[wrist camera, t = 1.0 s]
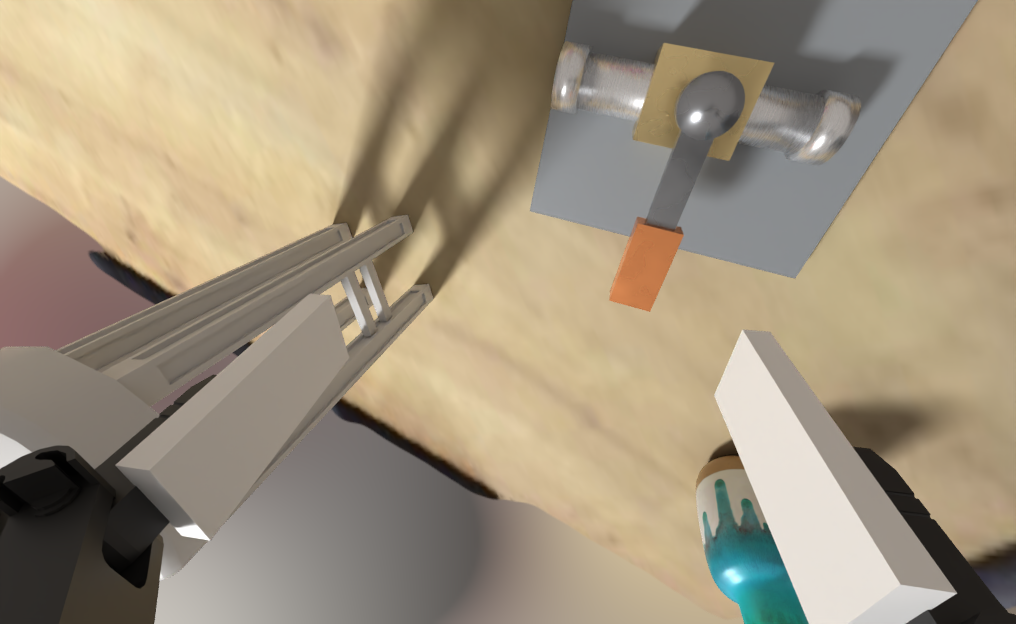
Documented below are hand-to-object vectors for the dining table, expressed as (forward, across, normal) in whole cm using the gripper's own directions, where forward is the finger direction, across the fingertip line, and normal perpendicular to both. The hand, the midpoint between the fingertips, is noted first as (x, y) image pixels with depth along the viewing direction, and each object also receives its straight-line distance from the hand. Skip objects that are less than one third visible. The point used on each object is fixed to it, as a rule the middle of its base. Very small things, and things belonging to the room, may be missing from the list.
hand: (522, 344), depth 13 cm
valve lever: (+18, -8, 0) cm, 20 cm away
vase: (+25, -27, +38) cm, 53 cm away
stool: (+32, +22, +14) cm, 42 cm away
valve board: (+29, -12, -4) cm, 32 cm away
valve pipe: (+28, -10, -5) cm, 30 cm away
